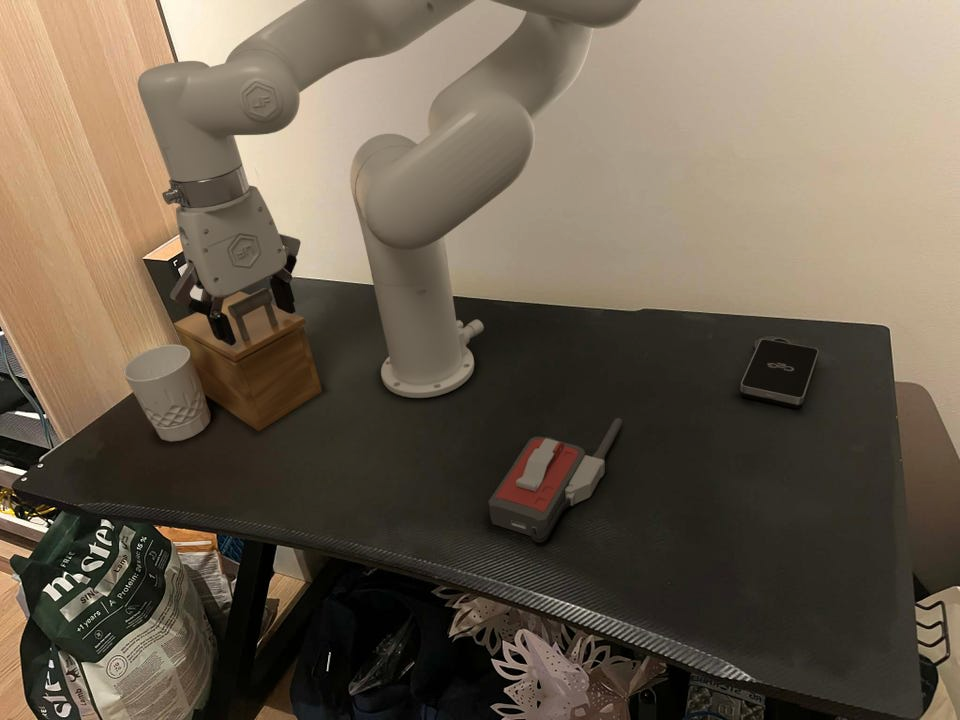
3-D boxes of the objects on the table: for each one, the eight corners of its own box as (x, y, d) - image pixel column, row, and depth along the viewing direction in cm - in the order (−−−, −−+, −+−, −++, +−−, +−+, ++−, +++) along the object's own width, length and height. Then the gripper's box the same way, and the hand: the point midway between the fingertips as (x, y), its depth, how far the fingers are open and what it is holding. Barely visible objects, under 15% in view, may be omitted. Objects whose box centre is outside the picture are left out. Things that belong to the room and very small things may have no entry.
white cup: (195, 446, 88) (167, 381, 83) (140, 443, 90) (109, 379, 84) (226, 407, 95) (202, 344, 89) (174, 405, 96) (147, 343, 91)
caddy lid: (306, 323, 89) (293, 283, 86) (235, 361, 83) (219, 320, 80) (242, 296, 98) (229, 259, 95) (175, 328, 93) (158, 290, 90)
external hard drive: (817, 362, 89) (819, 348, 88) (800, 413, 81) (802, 399, 80) (759, 351, 92) (760, 338, 91) (737, 399, 84) (739, 386, 83)
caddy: (322, 391, 95) (303, 326, 89) (258, 431, 89) (233, 364, 84) (263, 358, 104) (242, 296, 98) (201, 392, 98) (175, 329, 93)
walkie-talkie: (561, 558, 68) (628, 430, 82) (559, 525, 65) (628, 400, 79) (480, 531, 72) (557, 414, 86) (475, 500, 69) (556, 385, 83)
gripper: (152, 222, 69) (209, 369, 79) (298, 165, 79) (333, 303, 89) (119, 208, 74) (177, 349, 84) (261, 156, 84) (298, 288, 94)
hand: (257, 324), depth 86 cm, fingers open, 7 cm apart
